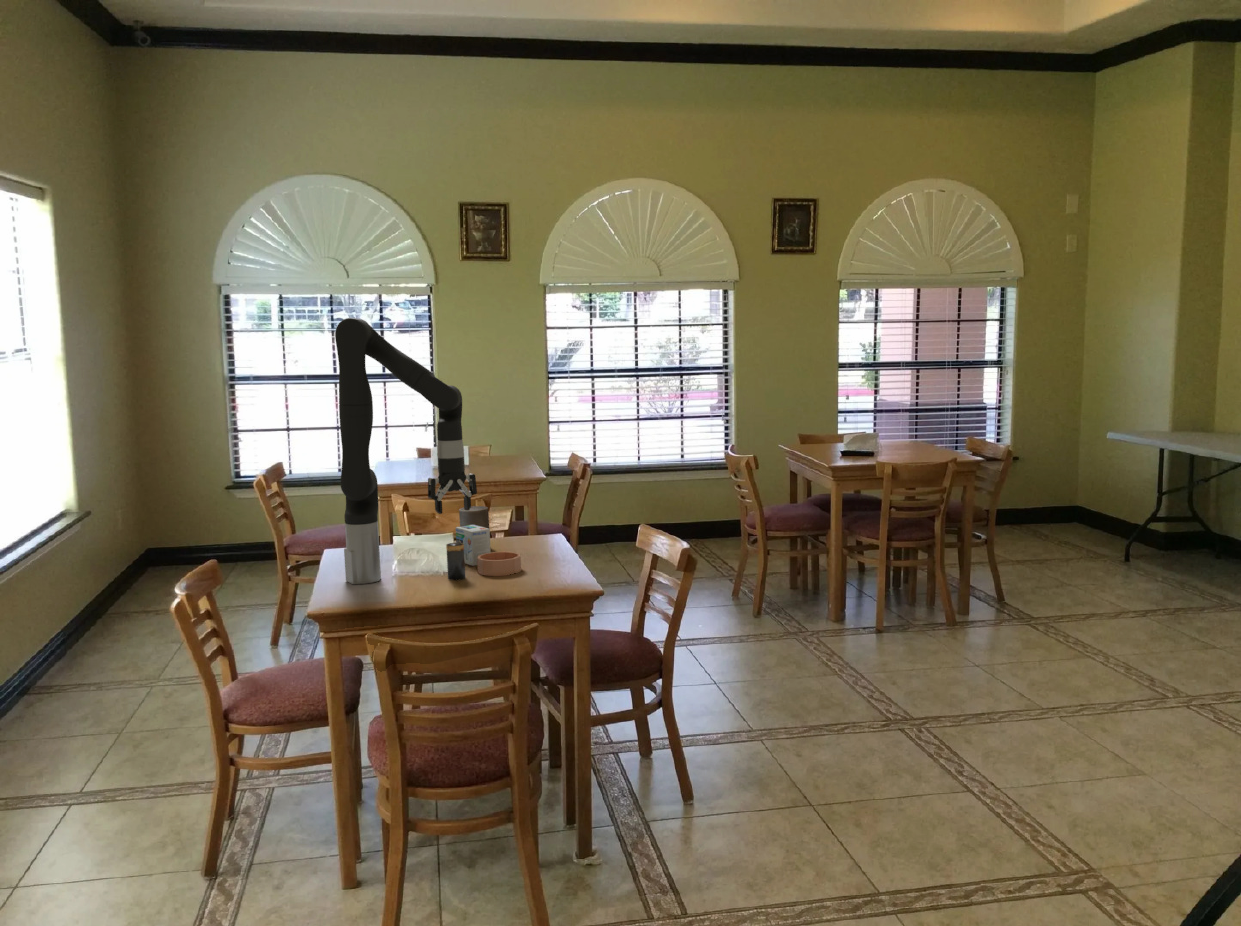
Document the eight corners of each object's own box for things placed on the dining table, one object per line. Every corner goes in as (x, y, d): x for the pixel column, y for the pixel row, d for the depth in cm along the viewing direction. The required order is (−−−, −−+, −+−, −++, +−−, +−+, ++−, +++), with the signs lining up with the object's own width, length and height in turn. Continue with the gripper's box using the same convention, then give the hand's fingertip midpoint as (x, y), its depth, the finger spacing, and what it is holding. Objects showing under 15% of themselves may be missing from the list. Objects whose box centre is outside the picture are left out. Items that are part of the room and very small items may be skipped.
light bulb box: (456, 560, 318) (454, 526, 316) (475, 557, 322) (473, 524, 320) (472, 566, 309) (471, 531, 308) (492, 562, 313) (490, 528, 312)
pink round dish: (490, 577, 293) (489, 562, 292) (470, 570, 303) (470, 555, 303) (528, 571, 300) (528, 556, 299) (508, 564, 310) (507, 549, 310)
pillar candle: (495, 546, 338) (493, 502, 336) (482, 552, 328) (480, 506, 327) (468, 546, 340) (466, 502, 339) (455, 551, 331) (453, 506, 330)
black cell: (452, 581, 290) (450, 546, 289) (444, 578, 294) (443, 544, 293) (468, 578, 293) (466, 544, 292) (460, 575, 297) (459, 541, 296)
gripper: (433, 459, 282) (436, 516, 284) (479, 454, 290) (481, 510, 292) (422, 456, 288) (425, 513, 290) (467, 452, 297) (470, 507, 298)
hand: (453, 511), depth 291 cm, fingers open, 8 cm apart
